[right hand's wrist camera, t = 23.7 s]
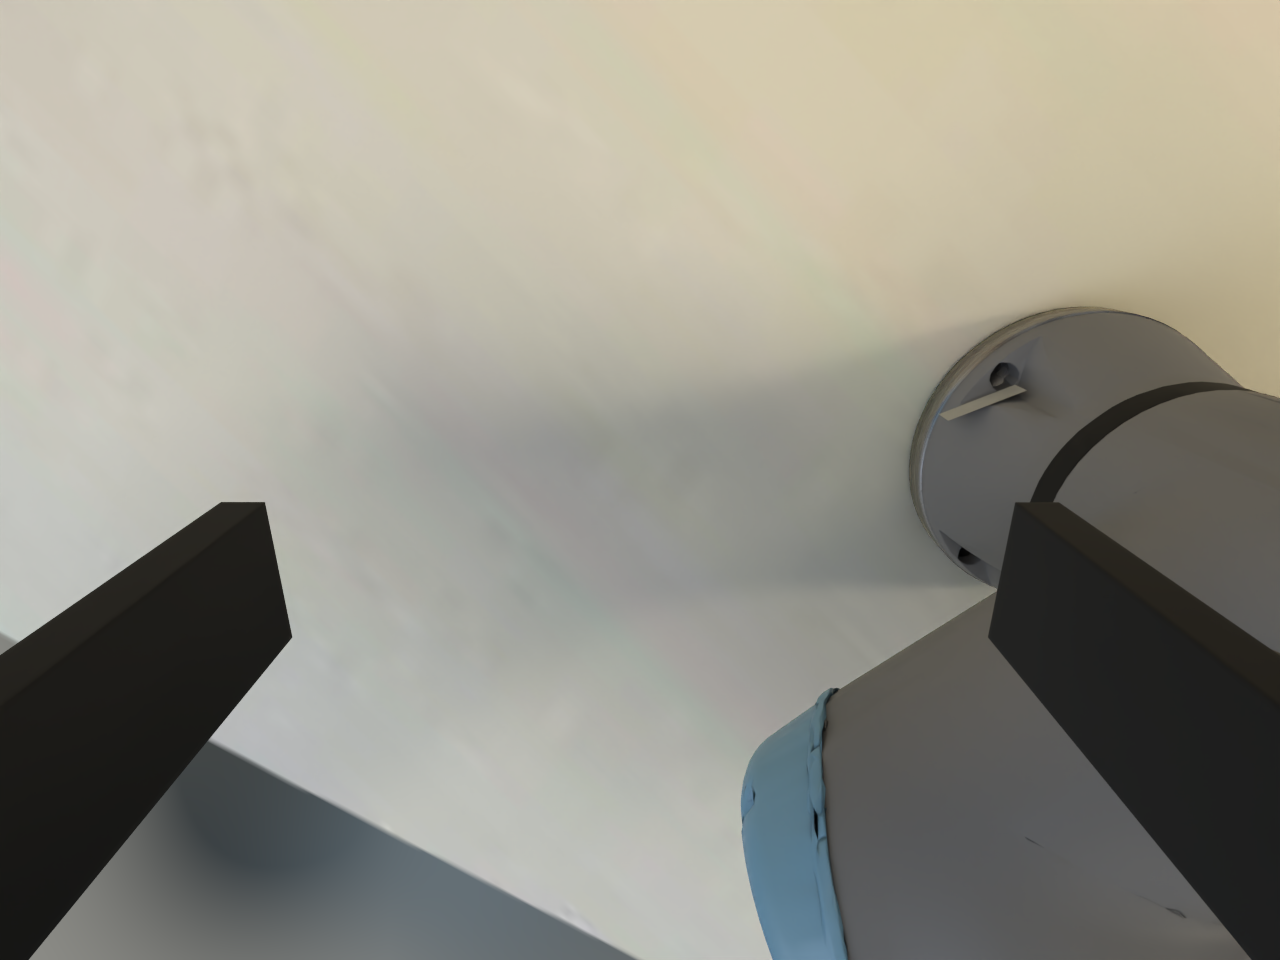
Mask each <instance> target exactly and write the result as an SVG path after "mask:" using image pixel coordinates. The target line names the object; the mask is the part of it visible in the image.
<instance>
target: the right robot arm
mask: <svg viewBox="0 0 1280 960" xmlns="http://www.w3.org/2000/svg"><path fill="white" fill-rule="evenodd" d="M909 480H910V488H911V494H912V498H913V503H914V506H915V509H916V511H917V514H918V516H919V518H920V520H921V522H922V524H923V526H924V528H925V529H926V531H927V532H928V534H929V535H930V537H931V538H932V539H933V540H934V541H935V543H936V544H937V545H938V546H939V547H940V548H941V549H942V551H943V552H944V553H945V554H946V555H947V556H948V557H949V558H950V559H951V560H952V561H953V562H954V563H955V564H956V565H957V566H958V567H960V568H961V569H962V570H964V571H965V572H966V573H968V574H969V575H971V576H973V577H974V578H976V579H978V580H980V581H982V582H984V583H986V584H988V585H990V586H992V587H995V588H997V592H995V593H993V594H992V595H990V596H989V597H987V598H985V599H984V600H982V601H981V602H979V603H977V604H976V605H974V606H973V607H971V608H969V609H968V610H966V611H965V612H963V613H961V614H960V615H958V616H957V617H955V618H953V619H952V620H950V621H949V622H947V623H945V624H944V625H942V626H941V627H939V628H937V629H936V630H934V631H933V632H931V633H929V634H928V635H926V636H924V637H923V638H921V639H920V640H918V641H916V642H915V643H913V644H912V645H910V646H908V647H907V648H905V649H904V650H902V651H900V652H899V653H897V654H896V655H894V656H892V657H891V658H889V659H888V660H886V661H884V662H883V663H881V664H880V665H878V666H876V667H875V668H873V669H872V670H870V671H868V672H867V673H865V674H864V675H862V676H860V677H859V678H857V679H856V680H854V681H852V682H851V683H849V684H848V685H846V686H844V687H843V688H841V689H839V688H834V689H833V688H830V689H828V690H827V691H825V692H823V693H822V694H821V695H820V696H819V698H818V700H817V702H816V704H815V705H814V706H812V707H811V708H809V709H808V710H807V711H805V712H804V713H802V714H801V715H799V716H798V717H797V718H795V719H794V720H792V721H791V722H790V723H788V724H787V725H785V726H784V727H782V728H781V729H780V730H778V731H777V732H775V733H774V734H773V735H771V736H770V737H768V738H767V739H766V740H765V741H764V742H763V743H762V744H761V745H760V746H759V747H758V748H757V750H756V751H755V753H754V754H753V756H752V758H751V760H750V762H749V764H748V767H747V770H746V774H745V777H744V780H743V787H742V795H741V814H742V824H743V825H742V826H743V827H742V840H743V848H744V855H745V861H746V867H747V872H748V877H749V881H750V886H751V890H752V894H753V898H754V902H755V906H756V909H757V913H758V916H759V920H760V923H761V926H762V930H763V933H764V936H765V939H766V942H767V945H768V947H769V950H770V953H771V956H772V959H773V960H1280V398H1277V397H1274V396H1270V395H1266V394H1262V393H1258V392H1255V391H1252V390H1248V389H1245V388H1243V387H1242V386H1241V385H1240V384H1239V383H1238V382H1237V381H1236V380H1235V379H1233V378H1232V377H1231V376H1230V375H1229V374H1228V373H1227V372H1226V371H1224V370H1223V369H1222V368H1221V367H1220V366H1219V365H1218V364H1217V363H1215V362H1214V361H1213V360H1212V359H1211V358H1210V357H1208V356H1207V355H1206V354H1205V353H1204V352H1203V351H1202V350H1201V349H1200V348H1199V347H1198V346H1197V345H1195V344H1194V343H1193V342H1192V341H1191V340H1189V339H1188V338H1187V337H1185V336H1184V335H1182V334H1181V333H1179V332H1178V331H1177V330H1175V329H1173V328H1171V327H1169V326H1168V325H1166V324H1164V323H1161V322H1159V321H1156V320H1154V319H1151V318H1148V317H1144V316H1141V315H1137V314H1133V313H1128V312H1123V311H1118V310H1113V309H1106V308H1098V307H1073V308H1064V309H1058V310H1052V311H1048V312H1044V313H1040V314H1037V315H1034V316H1031V317H1028V318H1025V319H1023V320H1020V321H1018V322H1016V323H1014V324H1011V325H1009V326H1007V327H1006V328H1004V329H1002V330H1000V331H998V332H996V333H995V334H993V335H992V336H990V337H989V338H987V339H986V340H984V341H983V342H981V343H980V344H979V345H977V346H976V347H975V348H974V349H972V350H971V351H970V352H969V353H967V354H966V355H965V356H964V357H963V358H962V359H961V360H960V361H959V362H958V363H957V364H956V365H955V366H954V367H953V368H952V369H951V371H950V372H949V373H948V374H947V375H946V376H945V378H944V379H943V380H942V382H941V383H940V384H939V386H938V387H937V388H936V390H935V392H934V393H933V395H932V396H931V398H930V399H929V401H928V403H927V405H926V407H925V409H924V411H923V413H922V415H921V418H920V420H919V423H918V425H917V428H916V432H915V435H914V438H913V443H912V448H911V453H910V463H909ZM291 638H292V634H291V629H290V624H289V619H288V614H287V609H286V604H285V599H284V594H283V589H282V584H281V579H280V575H279V570H278V565H277V560H276V555H275V550H274V545H273V540H272V535H271V530H270V525H269V520H268V515H267V511H266V506H265V502H221V503H219V504H218V505H216V506H215V507H213V508H212V509H211V510H209V511H208V512H206V513H205V514H203V515H202V516H200V517H199V518H198V519H196V520H195V521H193V522H192V523H190V524H189V525H188V526H186V527H185V528H183V529H182V530H180V531H179V532H177V533H176V534H175V535H173V536H172V537H170V538H169V539H167V540H166V541H164V542H163V543H162V544H160V545H159V546H157V547H156V548H154V549H153V550H151V551H150V552H149V553H147V554H146V555H144V556H143V557H141V558H140V559H138V560H137V561H136V562H134V563H133V564H131V565H130V566H128V567H127V568H125V569H124V570H123V571H121V572H120V573H118V574H117V575H115V576H114V577H112V578H111V579H110V580H108V581H107V582H105V583H104V584H102V585H101V586H99V587H98V588H97V589H95V590H94V591H92V592H91V593H89V594H88V595H86V596H85V597H84V598H82V599H81V600H79V601H78V602H76V603H75V604H73V605H72V606H71V607H69V608H68V609H66V610H65V611H63V612H62V613H60V614H59V615H58V616H56V617H55V618H53V619H52V620H50V621H49V622H47V623H46V624H45V625H43V626H42V627H40V628H39V629H37V630H36V631H35V632H33V633H32V634H30V635H29V636H27V637H26V638H24V639H23V640H22V641H20V642H19V643H17V644H16V645H14V646H13V647H11V648H10V649H9V650H7V651H6V652H4V653H3V654H1V655H0V960H29V959H30V957H31V956H32V955H33V954H34V952H35V951H36V950H37V949H38V948H39V946H40V945H41V944H42V943H43V941H44V940H45V939H46V938H47V937H48V935H49V934H50V933H51V932H52V930H53V929H54V928H55V927H56V926H57V924H58V923H59V922H60V921H61V919H62V918H63V917H64V916H65V915H66V913H67V912H68V911H69V910H70V908H71V907H72V906H73V905H74V904H75V902H76V901H77V900H78V899H79V897H80V896H81V895H82V894H83V893H84V891H85V890H86V889H87V888H88V886H89V885H90V884H91V883H92V882H93V880H94V879H95V878H96V877H97V875H98V874H99V873H100V872H101V870H102V869H103V868H104V867H105V866H106V864H107V863H108V862H109V861H110V860H111V858H112V857H113V856H114V855H115V853H116V852H117V851H118V850H119V848H120V847H121V846H122V845H123V844H124V842H125V841H126V840H127V839H128V838H129V836H130V835H131V834H132V833H133V831H134V830H135V829H136V828H137V826H138V825H139V824H140V823H141V822H142V820H143V819H144V818H145V817H146V815H147V814H148V813H149V812H150V811H151V809H152V808H153V807H154V806H155V804H156V803H157V802H158V801H159V800H160V798H161V797H162V796H163V795H164V793H165V792H166V791H167V790H168V789H169V787H170V786H171V785H172V784H173V782H174V781H175V780H176V779H177V778H178V776H179V775H180V774H181V773H182V771H183V770H184V769H185V768H186V767H187V765H188V764H189V763H190V762H191V760H192V759H193V758H194V757H195V755H196V754H197V753H198V752H199V751H200V749H201V748H202V747H203V746H204V745H205V743H206V742H207V741H208V740H209V738H210V737H211V736H212V735H213V734H214V732H215V731H216V730H217V729H218V727H219V726H220V725H221V724H222V723H223V721H224V720H225V719H226V718H227V716H228V715H229V714H230V713H231V712H232V710H233V709H234V708H235V707H236V705H237V704H238V703H239V702H240V701H241V699H242V698H243V697H244V696H245V694H246V693H247V692H248V691H249V690H250V688H251V687H252V686H253V685H254V683H255V682H256V681H257V680H258V679H259V677H260V676H261V675H262V674H263V672H264V671H265V670H266V669H267V668H268V666H269V665H270V664H271V663H272V661H273V660H274V659H275V658H276V657H277V655H278V654H279V653H280V652H281V650H282V649H283V648H284V647H285V646H286V644H287V643H288V642H289V641H290V639H291Z"/></svg>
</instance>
